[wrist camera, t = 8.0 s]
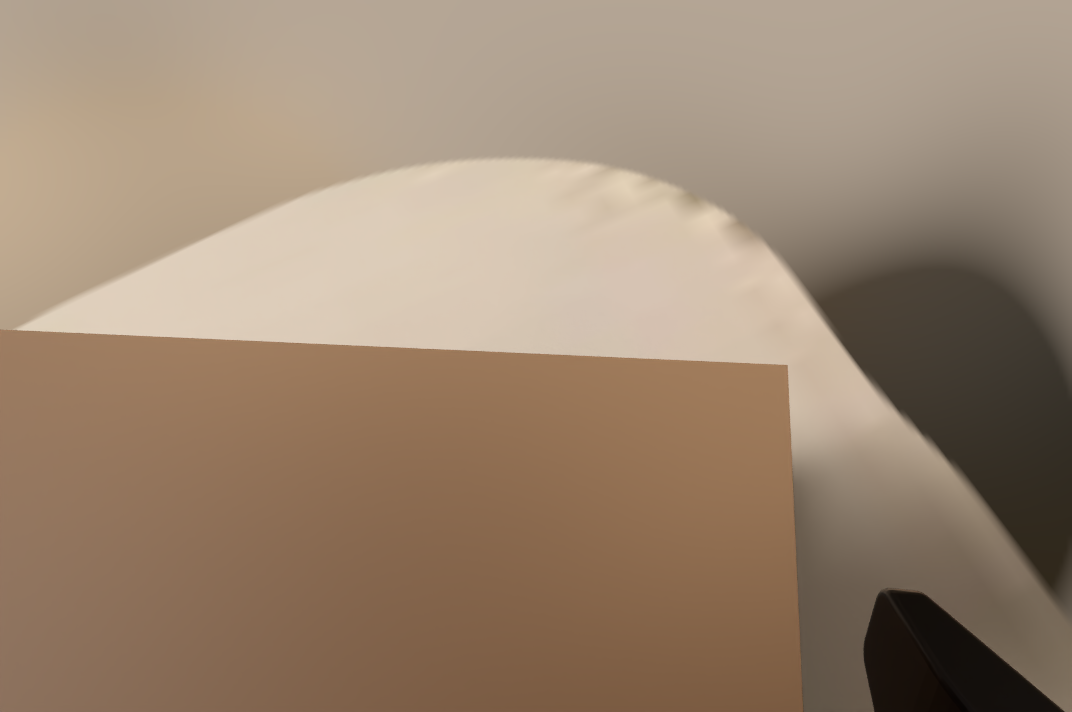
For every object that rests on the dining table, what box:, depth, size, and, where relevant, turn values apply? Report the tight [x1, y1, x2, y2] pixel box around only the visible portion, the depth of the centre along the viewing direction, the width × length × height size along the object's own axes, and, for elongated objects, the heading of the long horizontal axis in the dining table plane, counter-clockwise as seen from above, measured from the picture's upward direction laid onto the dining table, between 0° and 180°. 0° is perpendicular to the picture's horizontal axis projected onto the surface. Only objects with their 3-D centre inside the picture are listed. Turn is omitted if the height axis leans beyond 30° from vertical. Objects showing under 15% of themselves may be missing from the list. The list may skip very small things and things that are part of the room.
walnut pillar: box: [0, 330, 803, 712], centre depth 9 cm, size 5×5×13 cm
